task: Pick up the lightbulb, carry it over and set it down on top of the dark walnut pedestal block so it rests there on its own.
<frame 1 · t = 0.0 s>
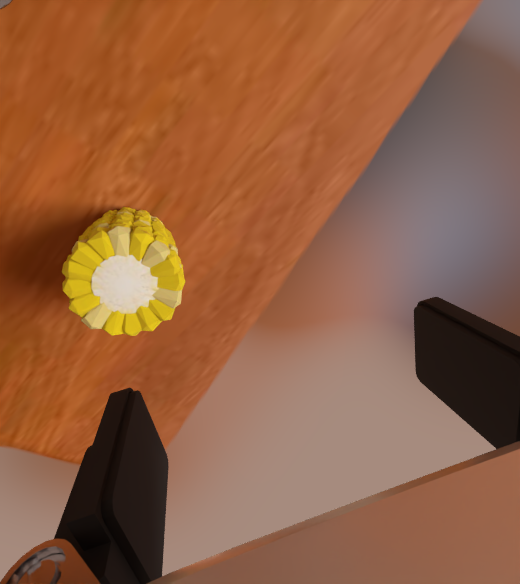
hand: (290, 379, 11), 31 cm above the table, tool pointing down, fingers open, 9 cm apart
food: (139, 248, 38), on the table
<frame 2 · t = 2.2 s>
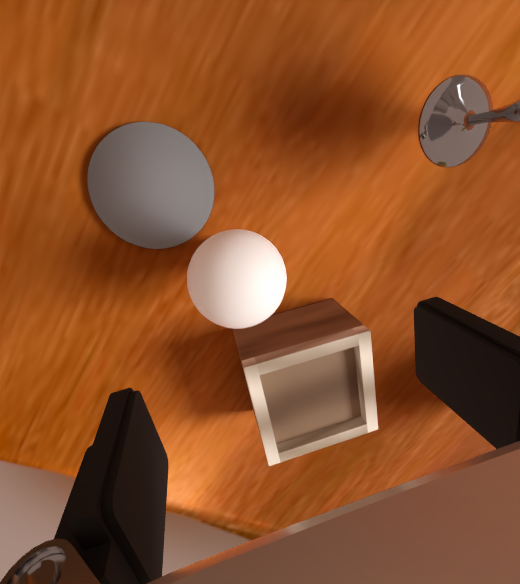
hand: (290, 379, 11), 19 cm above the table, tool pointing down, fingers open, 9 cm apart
pedestal: (291, 356, 33), on the table
wine glass: (454, 123, 28), on the table
coaster: (154, 188, 25), on the table
lightbulb: (223, 250, 28), on the table
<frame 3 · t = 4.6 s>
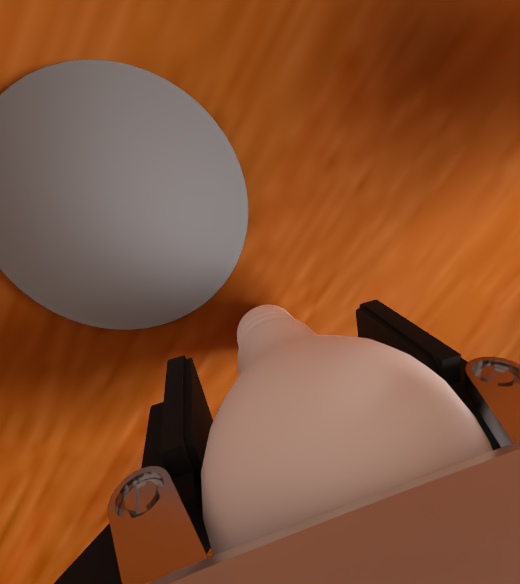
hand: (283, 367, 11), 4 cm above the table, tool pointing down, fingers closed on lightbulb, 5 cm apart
coaster: (123, 210, 12), on the table
lightbulb: (260, 321, 15), on the table, touching gripper
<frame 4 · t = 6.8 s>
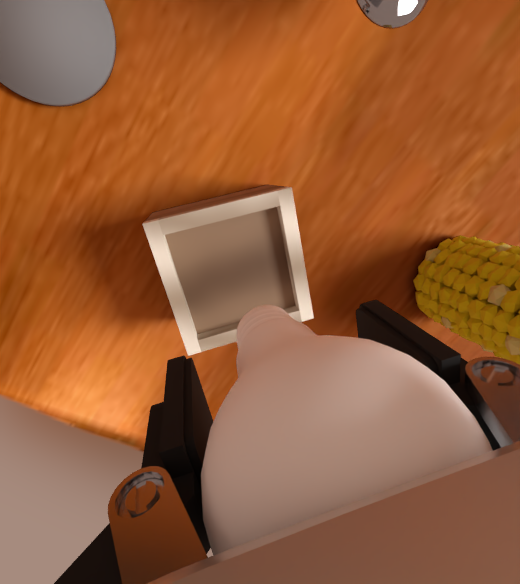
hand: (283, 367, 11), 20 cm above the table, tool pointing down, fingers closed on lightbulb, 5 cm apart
pedestal: (225, 254, 30), on the table
coaster: (43, 30, 22), on the table
food: (448, 277, 36), on the table
lightbulb: (260, 322, 15), point 16 cm above the table, touching gripper
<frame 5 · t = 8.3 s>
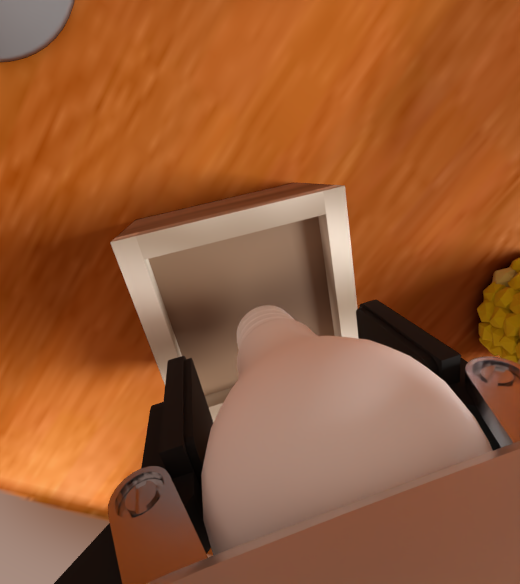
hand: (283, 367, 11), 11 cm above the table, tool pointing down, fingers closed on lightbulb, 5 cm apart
pedestal: (236, 276, 22), on the table
food: (516, 303, 28), on the table
lightbulb: (260, 322, 15), point 8 cm above the table, touching gripper
when the fingers open (11 cm above the table, at t = 9.2 s): lightbulb drops 1 cm, resting on pedestal.
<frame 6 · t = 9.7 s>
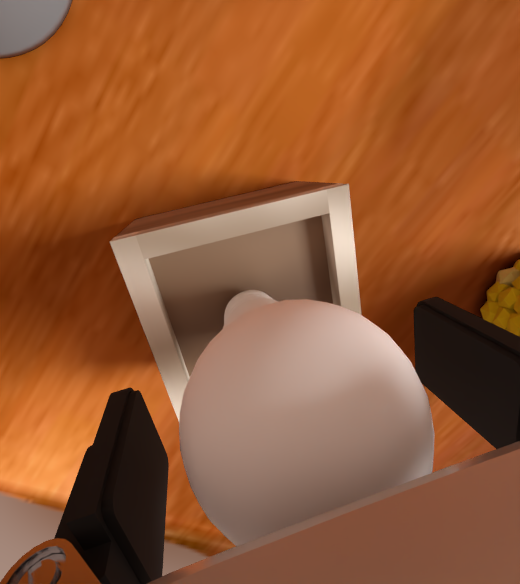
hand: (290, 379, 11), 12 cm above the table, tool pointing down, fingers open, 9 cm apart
pedestal: (237, 276, 22), on the table
lightbulb: (247, 308, 16), point 6 cm above the table, touching pedestal
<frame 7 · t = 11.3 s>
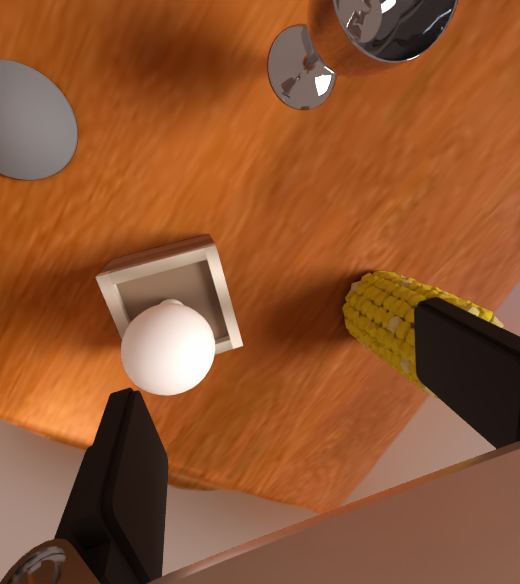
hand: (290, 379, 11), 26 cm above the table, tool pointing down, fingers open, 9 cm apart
pedestal: (176, 290, 35), on the table
wine glass: (302, 69, 32), on the table
coaster: (19, 124, 28), on the table
food: (375, 304, 42), on the table
lightbulb: (171, 308, 30), point 6 cm above the table, touching pedestal
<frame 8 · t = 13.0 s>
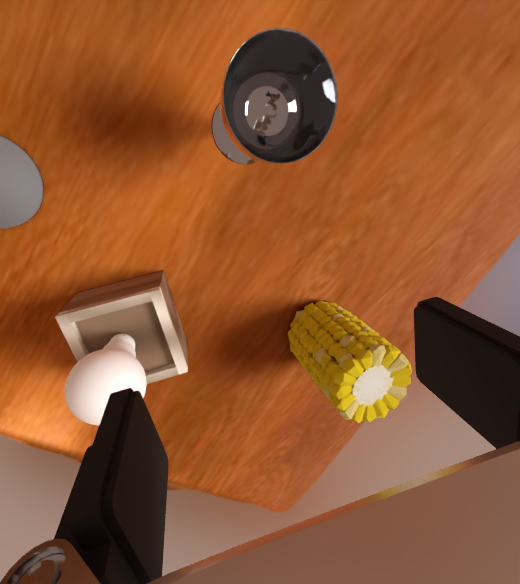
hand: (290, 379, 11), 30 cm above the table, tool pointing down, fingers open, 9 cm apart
pedestal: (135, 318, 40), on the table
wine glass: (244, 129, 36), on the table
food: (320, 329, 46), on the table
lightbulb: (124, 340, 35), point 6 cm above the table, touching pedestal
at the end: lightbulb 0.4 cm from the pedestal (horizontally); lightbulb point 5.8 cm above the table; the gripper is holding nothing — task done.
